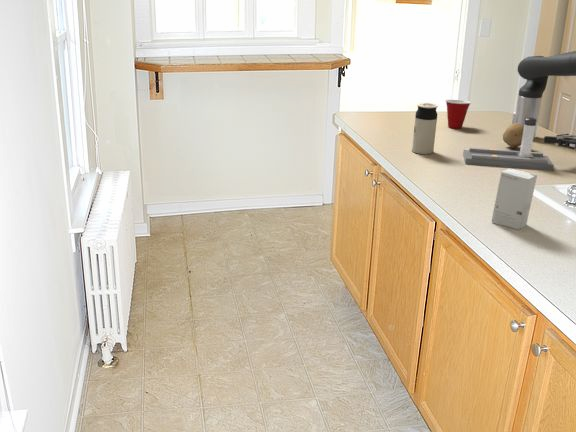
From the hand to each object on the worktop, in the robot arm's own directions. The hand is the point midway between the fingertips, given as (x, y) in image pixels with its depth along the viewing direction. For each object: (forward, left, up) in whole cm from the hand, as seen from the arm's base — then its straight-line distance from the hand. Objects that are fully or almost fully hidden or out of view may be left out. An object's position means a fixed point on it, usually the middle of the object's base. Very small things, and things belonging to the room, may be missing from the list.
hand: (544, 139), depth 236 cm
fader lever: (-4, -4, -7) cm, 9 cm away
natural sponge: (-20, +9, -10) cm, 24 cm away
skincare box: (+37, -55, -10) cm, 67 cm away
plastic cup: (-56, +12, -10) cm, 59 cm away
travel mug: (-31, -28, -10) cm, 43 cm away
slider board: (-7, -9, -9) cm, 15 cm away
